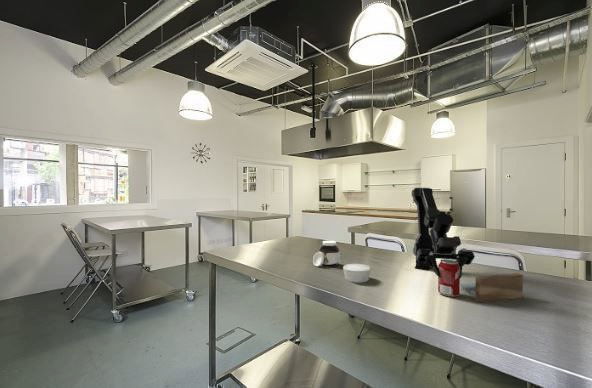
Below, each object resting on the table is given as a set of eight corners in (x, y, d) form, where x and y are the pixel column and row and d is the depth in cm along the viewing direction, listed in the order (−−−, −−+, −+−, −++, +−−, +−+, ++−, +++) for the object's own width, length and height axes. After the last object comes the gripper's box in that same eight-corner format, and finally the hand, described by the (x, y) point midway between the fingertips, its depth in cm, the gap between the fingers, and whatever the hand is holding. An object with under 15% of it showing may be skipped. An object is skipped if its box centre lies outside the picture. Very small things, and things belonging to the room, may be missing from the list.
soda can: (451, 299, 93) (452, 264, 93) (433, 292, 99) (434, 260, 99) (463, 296, 96) (464, 262, 96) (445, 289, 102) (446, 258, 102)
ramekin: (338, 279, 114) (338, 267, 114) (352, 273, 122) (352, 262, 122) (362, 286, 107) (362, 272, 107) (375, 279, 115) (375, 266, 115)
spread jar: (341, 264, 137) (341, 241, 137) (332, 270, 128) (332, 245, 128) (320, 261, 144) (320, 239, 144) (310, 266, 134) (310, 242, 134)
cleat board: (453, 290, 102) (453, 268, 102) (491, 286, 106) (492, 265, 106) (480, 302, 91) (480, 278, 91) (522, 297, 95) (522, 274, 95)
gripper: (418, 227, 103) (426, 264, 93) (472, 229, 100) (487, 267, 89) (413, 244, 111) (420, 279, 100) (463, 246, 107) (476, 283, 97)
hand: (449, 277), depth 96 cm, fingers closed on soda can, 6 cm apart
